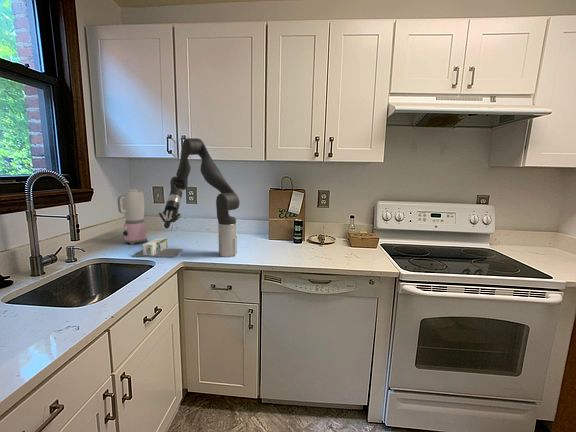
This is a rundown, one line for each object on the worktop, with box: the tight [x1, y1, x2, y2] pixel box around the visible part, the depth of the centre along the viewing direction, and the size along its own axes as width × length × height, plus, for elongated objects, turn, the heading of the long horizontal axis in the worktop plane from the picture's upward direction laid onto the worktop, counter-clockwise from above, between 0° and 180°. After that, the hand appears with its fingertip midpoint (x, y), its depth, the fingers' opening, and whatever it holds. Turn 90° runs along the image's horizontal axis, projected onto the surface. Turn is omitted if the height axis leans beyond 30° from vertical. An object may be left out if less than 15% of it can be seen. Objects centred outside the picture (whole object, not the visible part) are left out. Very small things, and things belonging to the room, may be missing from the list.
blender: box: [117, 188, 148, 246], centre depth 171 cm, size 16×12×32 cm
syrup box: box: [142, 237, 169, 256], centre depth 155 cm, size 6×6×14 cm
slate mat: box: [131, 248, 183, 259], centre depth 154 cm, size 21×14×1 cm, turn 91°
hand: (166, 227), depth 165 cm, fingers closed
